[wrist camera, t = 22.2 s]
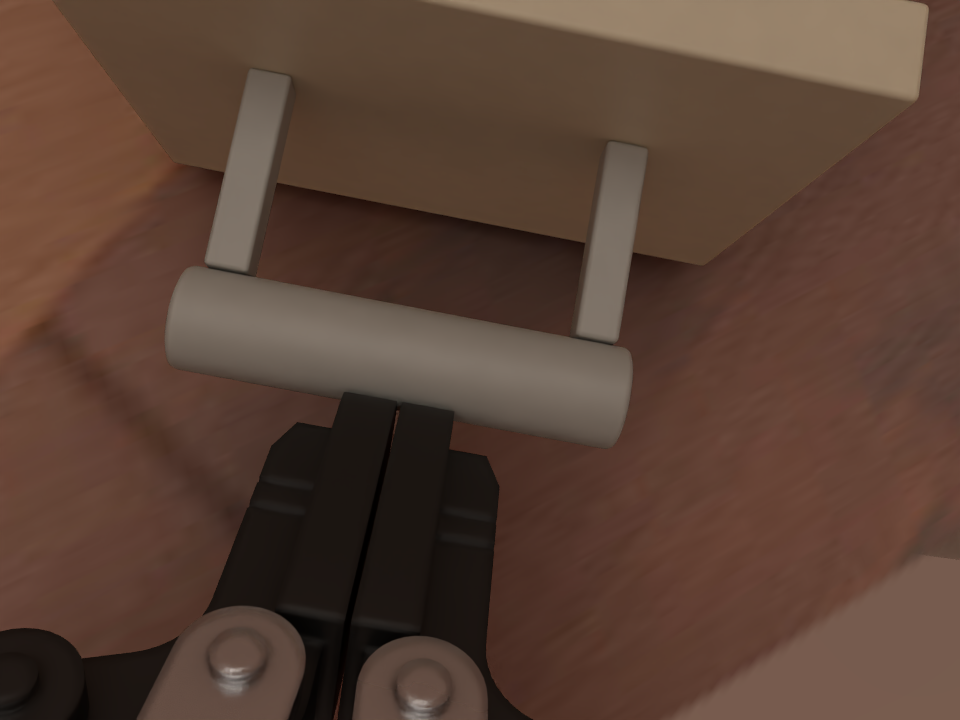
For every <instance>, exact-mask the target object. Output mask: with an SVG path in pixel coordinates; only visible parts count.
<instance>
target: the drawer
mask: <svg viewBox="0 0 960 720" xmlns="http://www.w3.org/2000/svg"><path fill="white" fill-rule="evenodd" d="M52 1H53V2H54V3H55V5H56V6H57V7H58V9H59V10H60V11H61V13H62V14H63V15H64V17H65V18H66V19H67V21H68V22H69V23H70V25H71V26H72V27H73V29H74V30H75V31H76V33H77V34H78V35H79V37H80V38H81V39H82V41H83V42H84V43H85V45H86V46H87V47H88V49H89V50H90V51H91V53H92V54H93V55H94V57H95V58H96V59H97V61H98V62H99V63H100V65H101V66H102V67H103V69H104V70H105V71H106V73H107V74H108V75H109V77H110V78H111V79H112V81H113V82H114V83H115V85H116V86H117V87H118V89H119V90H120V91H121V93H122V94H123V95H124V97H125V98H126V99H127V101H128V102H129V103H130V105H131V106H132V107H133V109H134V110H135V111H136V113H137V114H138V115H139V117H140V118H141V119H142V121H143V122H144V123H145V125H146V126H147V127H148V129H149V130H150V131H151V133H152V134H153V135H154V137H155V138H156V139H157V141H158V142H159V143H160V145H161V146H162V147H163V149H164V150H165V151H166V153H167V154H168V155H169V157H170V158H171V159H172V161H174V162H175V163H180V164H185V165H190V166H195V167H200V168H205V169H210V170H215V171H220V172H225V173H224V177H223V182H222V186H221V190H220V195H219V199H218V203H217V208H216V212H215V216H214V221H213V225H212V229H211V233H210V238H209V242H208V246H207V251H206V255H205V259H204V261H205V264H206V265H207V266H208V267H209V268H206V267H200V266H192V267H188V268H187V269H186V270H185V271H184V272H183V273H182V275H181V277H180V278H179V280H178V282H177V284H176V287H175V289H174V291H173V294H172V297H171V301H170V304H169V308H168V313H167V318H166V326H165V352H166V357H167V361H168V363H169V364H170V365H171V366H172V367H174V368H175V369H179V370H184V371H190V372H195V373H200V374H206V375H211V376H216V377H222V378H227V379H232V380H238V381H243V382H249V383H254V384H259V385H265V386H270V387H275V388H281V389H286V390H291V391H297V392H302V393H308V394H313V395H318V396H324V397H329V398H334V399H340V400H341V398H342V395H343V393H344V392H350V393H356V394H361V395H367V396H372V397H378V398H383V399H388V400H394V401H397V410H399V411H400V408H401V404H402V402H406V403H412V404H417V405H423V406H428V407H433V408H439V409H444V410H450V411H454V420H453V421H458V422H463V423H468V424H474V425H479V426H484V427H490V428H495V429H500V430H506V431H511V432H517V433H522V434H527V435H533V436H538V437H543V438H549V439H554V440H559V441H565V442H570V443H576V444H581V445H586V446H592V447H597V448H602V449H608V448H612V447H613V446H614V445H615V443H616V441H617V440H618V438H619V436H620V434H621V431H622V429H623V426H624V423H625V419H626V416H627V412H628V407H629V402H630V397H631V390H632V381H633V363H632V356H631V353H630V351H629V350H627V349H626V348H624V347H618V346H613V344H615V343H616V342H617V341H618V339H619V334H620V328H621V322H622V315H623V309H624V303H625V297H626V291H627V284H628V278H629V272H630V266H631V260H632V253H633V252H634V253H639V254H645V255H650V256H655V257H660V258H665V259H670V260H675V261H680V262H685V263H691V264H696V265H701V266H703V265H706V264H707V263H708V262H710V261H711V260H712V259H713V258H715V257H716V256H717V255H719V254H720V253H721V252H722V251H724V250H725V249H726V248H728V247H729V246H730V245H731V244H733V243H734V242H735V241H737V240H738V239H739V238H741V237H742V236H743V235H744V234H746V233H747V232H748V231H750V230H751V229H752V228H753V227H755V226H756V225H757V224H759V223H760V222H761V221H762V220H764V219H765V218H766V217H768V216H769V215H770V214H771V213H773V212H774V211H775V210H777V209H778V208H779V207H781V206H782V205H783V204H784V203H786V202H787V201H788V200H790V199H791V198H792V197H793V196H795V195H796V194H797V193H799V192H800V191H801V190H802V189H804V188H805V187H806V186H808V185H809V184H810V183H812V182H813V181H814V180H815V179H817V178H818V177H819V176H821V175H822V174H823V173H824V172H826V171H827V170H828V169H830V168H831V167H832V166H833V165H835V164H836V163H837V162H839V161H840V160H841V159H842V158H844V157H845V156H846V155H848V154H849V153H850V152H852V151H853V150H854V149H855V148H857V147H858V146H859V145H861V144H862V143H863V142H864V141H866V140H867V139H868V138H870V137H871V136H872V135H873V134H875V133H876V132H877V131H879V130H880V129H881V128H883V127H884V126H885V125H886V124H888V123H889V122H890V121H892V120H893V119H894V118H895V117H897V116H898V115H899V114H901V113H902V112H903V111H904V110H906V109H907V108H908V107H910V106H911V105H912V104H914V103H915V102H916V100H917V99H918V96H919V90H920V81H921V73H922V64H923V55H924V47H925V38H926V30H927V21H928V12H929V9H928V6H927V5H925V4H923V3H918V2H913V1H908V0H52ZM277 183H282V184H287V185H292V186H297V187H302V188H307V189H312V190H318V191H323V192H328V193H333V194H338V195H343V196H348V197H353V198H358V199H364V200H369V201H374V202H379V203H384V204H389V205H394V206H399V207H404V208H410V209H415V210H420V211H425V212H430V213H435V214H440V215H445V216H450V217H455V218H461V219H466V220H471V221H476V222H481V223H486V224H491V225H496V226H501V227H507V228H512V229H517V230H522V231H527V232H532V233H537V234H542V235H547V236H553V237H558V238H563V239H568V240H573V241H578V242H583V243H585V248H584V254H583V260H582V266H581V272H580V278H579V284H578V290H577V295H576V301H575V307H574V313H573V319H572V325H571V331H570V337H566V336H561V335H556V334H551V333H545V332H540V331H535V330H530V329H524V328H519V327H514V326H509V325H503V324H498V323H493V322H488V321H483V320H477V319H472V318H467V317H462V316H456V315H451V314H446V313H441V312H436V311H430V310H425V309H420V308H415V307H409V306H404V305H399V304H394V303H388V302H383V301H378V300H373V299H368V298H362V297H357V296H352V295H347V294H341V293H336V292H331V291H326V290H321V289H315V288H310V287H305V286H300V285H294V284H289V283H284V282H279V281H273V280H268V279H263V278H258V277H256V273H257V269H258V264H259V260H260V255H261V251H262V246H263V242H264V237H265V233H266V229H267V224H268V220H269V215H270V211H271V206H272V202H273V197H274V193H275V188H276V184H277Z"/></svg>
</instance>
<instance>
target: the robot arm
mask: <svg viewBox="0 0 960 720" xmlns="http://www.w3.org/2000/svg"><path fill="white" fill-rule="evenodd" d="M396 411H397V401H394V400H388V399H383V398H378V397H372V396H367V395H361V394H356V393H350V392H344V393H343V395H342V398H341V401H340V404H339V407H338V411H337V414H336V417H335V420H334V423H333V426H332V428H326V427H321V426H315V425H310V424H304V423H299V422H297V423H296V424H295V425H294V426H293V427H292V428H291V429H289V430H288V431H287V432H286V433H285V434H284V435H283V436H282V437H281V438H280V439H278V440H277V441H276V442H275V443H274V444H273V445H272V446H271V448H270V451H269V454H268V456H267V459H266V461H265V464H264V466H263V469H262V472H261V474H260V478H259V482H257V485H256V487H255V490H254V492H253V495H252V497H251V500H250V505H249V508H247V510H246V513H245V515H244V518H243V521H242V523H241V526H240V528H239V531H238V534H237V536H236V539H235V541H234V544H233V546H232V549H231V552H230V554H229V557H228V559H227V562H226V565H225V567H224V570H223V572H222V575H221V577H220V580H219V583H218V585H217V588H216V590H215V593H214V595H213V598H212V600H211V602H210V604H209V606H208V608H207V610H206V611H205V612H204V614H203V615H202V617H200V618H199V619H197V620H195V621H194V622H193V623H192V624H191V625H189V626H188V627H187V628H186V629H185V630H184V631H183V632H182V634H181V635H180V636H178V637H176V638H175V639H173V640H171V641H169V642H167V643H165V644H162V645H160V646H157V647H154V648H151V649H147V650H143V651H137V652H131V653H123V654H115V655H107V656H99V657H90V658H82V659H81V656H80V655H79V653H78V652H77V650H76V648H75V647H74V646H73V645H72V644H71V643H70V642H69V641H67V640H66V639H64V638H63V637H61V636H59V635H57V634H54V633H52V632H49V631H45V630H40V629H32V628H20V629H10V630H5V631H0V720H333V719H334V714H335V710H336V705H337V701H338V696H339V692H340V688H341V683H342V679H343V684H342V691H341V698H340V705H339V712H338V719H337V720H533V719H531V718H529V717H528V716H526V715H524V714H523V713H521V712H520V711H519V710H517V709H516V708H515V707H514V706H512V704H511V703H510V702H509V701H508V700H507V699H506V698H505V697H504V696H503V695H502V693H501V692H500V691H499V689H498V688H497V686H496V684H495V683H494V681H493V679H492V677H491V674H490V671H489V668H488V665H487V659H486V637H487V626H488V614H489V602H490V591H491V579H492V567H493V556H494V551H493V550H494V544H495V533H496V519H497V509H498V498H499V484H498V482H497V480H496V477H495V475H494V473H493V470H492V468H491V466H490V463H489V461H488V459H487V456H482V455H477V454H471V453H466V452H460V451H455V450H449V445H450V439H451V433H452V426H453V420H454V411H450V410H444V409H439V408H433V407H428V406H423V405H417V404H412V403H406V402H402V404H401V408H400V412H399V417H398V421H397V425H396V430H395V434H394V438H393V443H392V437H393V430H394V424H395V417H396ZM391 443H392V447H391ZM390 450H391V451H390ZM343 674H344V677H343Z"/></svg>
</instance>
